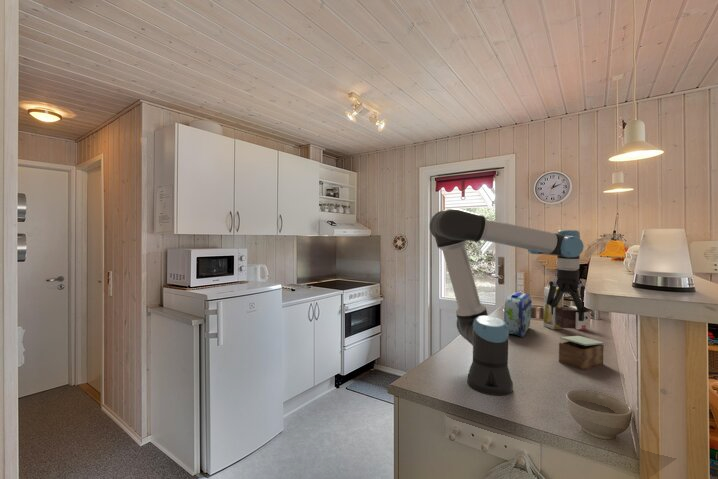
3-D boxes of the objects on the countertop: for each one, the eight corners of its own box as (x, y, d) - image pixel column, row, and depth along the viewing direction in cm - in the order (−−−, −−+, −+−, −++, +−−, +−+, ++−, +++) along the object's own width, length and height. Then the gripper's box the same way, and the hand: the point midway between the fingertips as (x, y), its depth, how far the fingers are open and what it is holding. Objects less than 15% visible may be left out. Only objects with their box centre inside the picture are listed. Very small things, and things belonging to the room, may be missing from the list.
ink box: (586, 330, 186) (586, 309, 186) (577, 330, 186) (577, 309, 186) (576, 326, 195) (576, 305, 194) (567, 326, 195) (568, 305, 195)
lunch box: (524, 339, 170) (525, 298, 169) (501, 335, 176) (502, 296, 175) (532, 327, 191) (533, 291, 190) (512, 324, 197) (513, 289, 197)
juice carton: (541, 325, 196) (542, 284, 195) (553, 325, 197) (554, 284, 196) (552, 330, 186) (553, 287, 186) (565, 329, 187) (566, 287, 187)
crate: (583, 370, 132) (584, 350, 132) (558, 361, 141) (559, 342, 141) (603, 363, 139) (603, 344, 139) (577, 355, 148) (578, 337, 148)
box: (578, 329, 129) (579, 310, 129) (561, 328, 131) (561, 309, 131) (572, 325, 135) (572, 307, 135) (555, 324, 137) (555, 306, 136)
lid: (585, 345, 132) (585, 344, 133) (560, 338, 141) (560, 337, 141) (603, 343, 139) (603, 342, 139) (578, 337, 148) (578, 335, 148)
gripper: (602, 271, 125) (601, 331, 125) (548, 266, 144) (547, 318, 144) (591, 272, 121) (589, 334, 122) (537, 266, 140) (536, 320, 141)
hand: (566, 325), depth 133 cm, fingers closed on box, 8 cm apart
